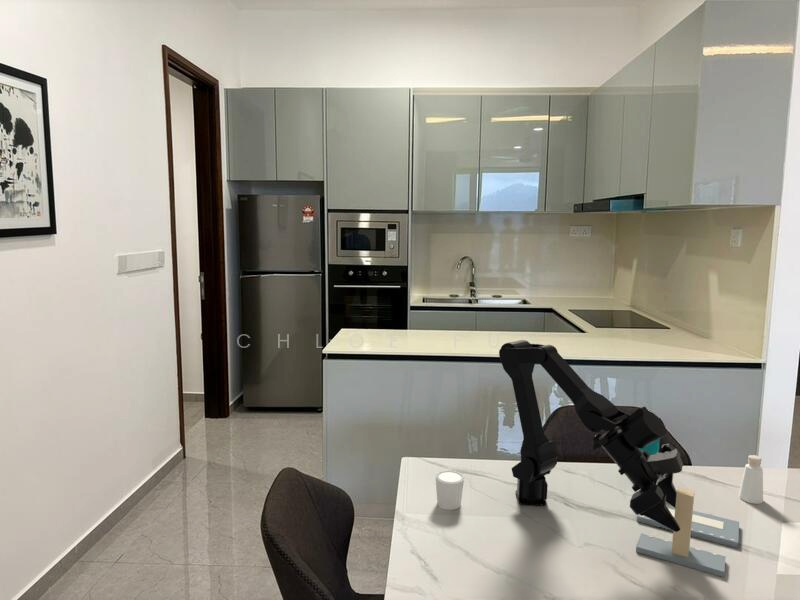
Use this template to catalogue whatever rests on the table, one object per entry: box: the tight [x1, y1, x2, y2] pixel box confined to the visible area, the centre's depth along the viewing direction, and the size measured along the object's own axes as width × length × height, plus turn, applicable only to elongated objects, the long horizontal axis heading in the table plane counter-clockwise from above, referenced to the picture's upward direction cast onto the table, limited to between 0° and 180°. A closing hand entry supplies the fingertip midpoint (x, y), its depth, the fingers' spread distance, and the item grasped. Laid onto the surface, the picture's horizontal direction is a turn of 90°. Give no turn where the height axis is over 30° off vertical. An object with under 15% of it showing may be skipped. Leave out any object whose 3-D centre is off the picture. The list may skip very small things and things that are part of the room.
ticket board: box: [636, 503, 740, 549], centre depth 130 cm, size 20×10×1 cm, turn 59°
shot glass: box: [435, 470, 465, 511], centre depth 138 cm, size 7×7×7 cm
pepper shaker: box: [738, 454, 764, 505], centre depth 142 cm, size 5×5×11 cm
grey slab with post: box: [635, 486, 727, 578], centre depth 117 cm, size 16×6×14 cm, turn 59°
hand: (681, 520), depth 117 cm, fingers open, 9 cm apart
